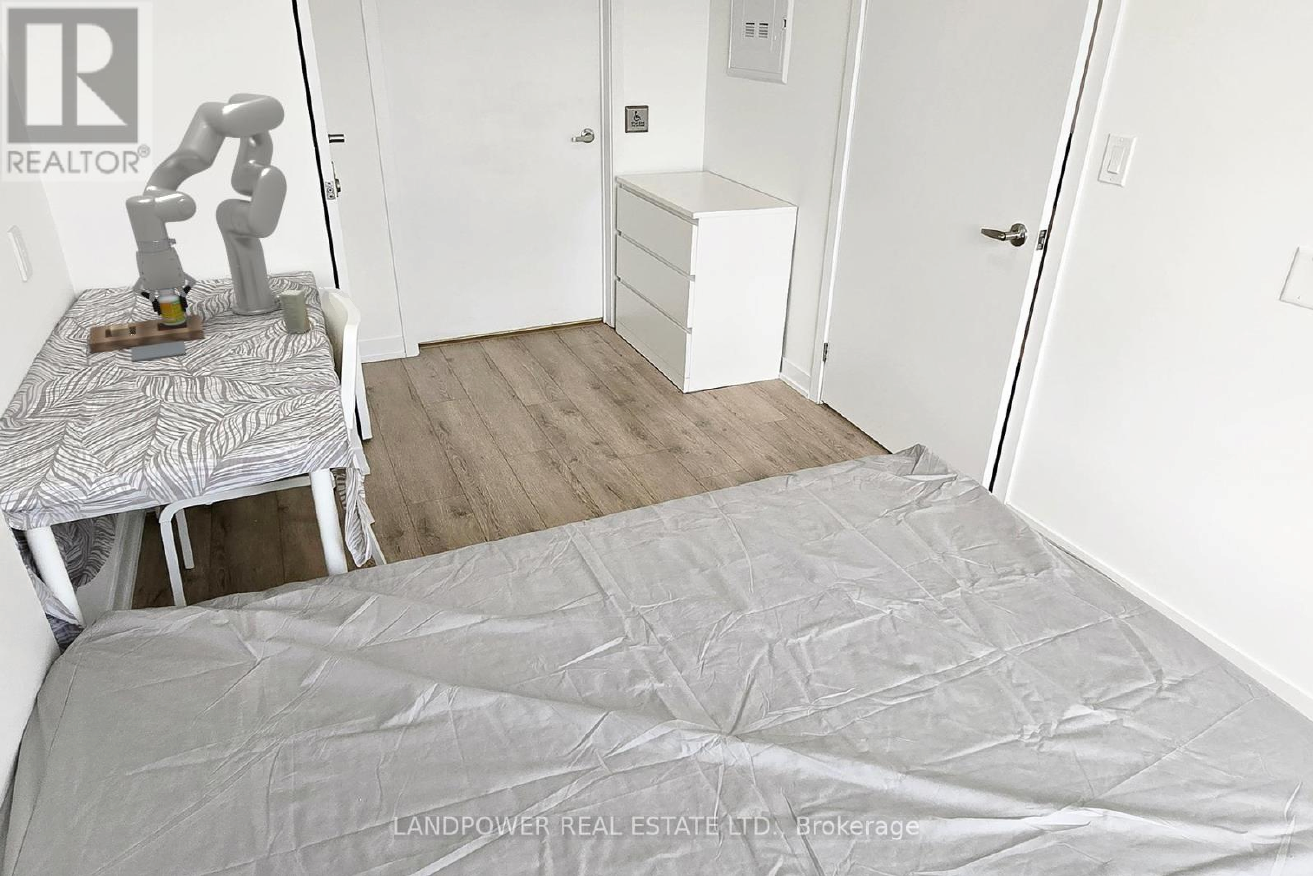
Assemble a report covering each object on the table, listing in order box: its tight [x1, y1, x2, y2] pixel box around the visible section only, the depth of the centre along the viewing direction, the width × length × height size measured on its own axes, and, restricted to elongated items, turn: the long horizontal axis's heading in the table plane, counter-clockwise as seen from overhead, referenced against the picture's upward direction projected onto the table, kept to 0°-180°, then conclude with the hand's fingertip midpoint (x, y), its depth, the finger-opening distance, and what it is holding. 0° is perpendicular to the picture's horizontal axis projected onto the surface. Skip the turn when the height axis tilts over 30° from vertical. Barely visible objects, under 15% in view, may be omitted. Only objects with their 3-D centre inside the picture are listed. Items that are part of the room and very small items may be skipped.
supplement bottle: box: [156, 288, 186, 325], centre depth 227 cm, size 5×5×10 cm
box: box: [279, 289, 311, 334], centre depth 233 cm, size 5×4×11 cm
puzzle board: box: [88, 314, 206, 354], centre depth 227 cm, size 26×14×2 cm, turn 119°
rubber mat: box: [131, 341, 187, 363], centre depth 218 cm, size 12×10×1 cm
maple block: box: [110, 323, 131, 337], centre depth 224 cm, size 4×4×4 cm
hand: (171, 311), depth 228 cm, fingers closed on supplement bottle, 5 cm apart
